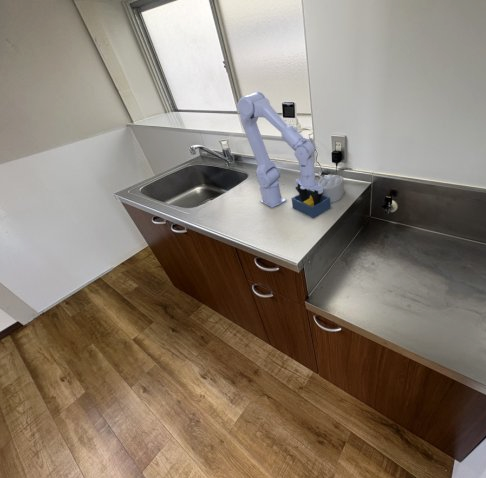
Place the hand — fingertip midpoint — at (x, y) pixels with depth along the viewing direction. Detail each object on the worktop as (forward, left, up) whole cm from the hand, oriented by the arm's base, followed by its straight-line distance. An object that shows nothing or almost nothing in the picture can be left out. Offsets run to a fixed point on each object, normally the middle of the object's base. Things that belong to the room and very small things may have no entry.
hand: (310, 203), depth 106 cm
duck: (0, 0, -2) cm, 2 cm away
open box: (0, 0, -2) cm, 2 cm away
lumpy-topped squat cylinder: (-1, +13, -2) cm, 13 cm away
